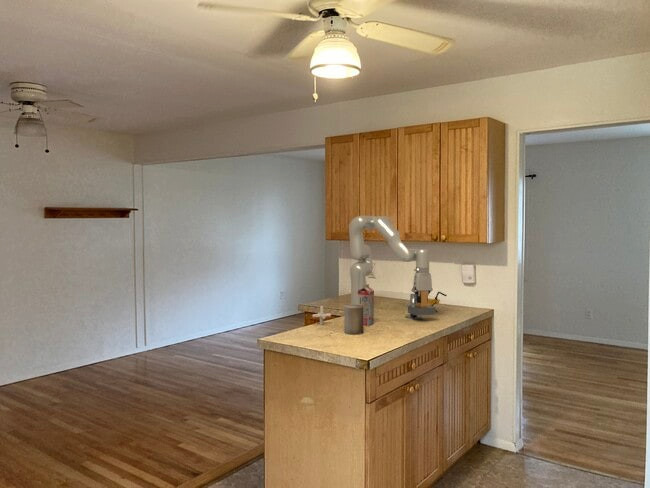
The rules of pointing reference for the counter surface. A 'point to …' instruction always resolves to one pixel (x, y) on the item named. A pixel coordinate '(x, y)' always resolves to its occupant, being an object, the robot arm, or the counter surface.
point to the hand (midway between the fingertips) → (422, 302)
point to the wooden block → (423, 299)
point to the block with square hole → (418, 309)
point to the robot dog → (435, 300)
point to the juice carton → (367, 304)
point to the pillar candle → (353, 319)
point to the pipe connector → (321, 315)
